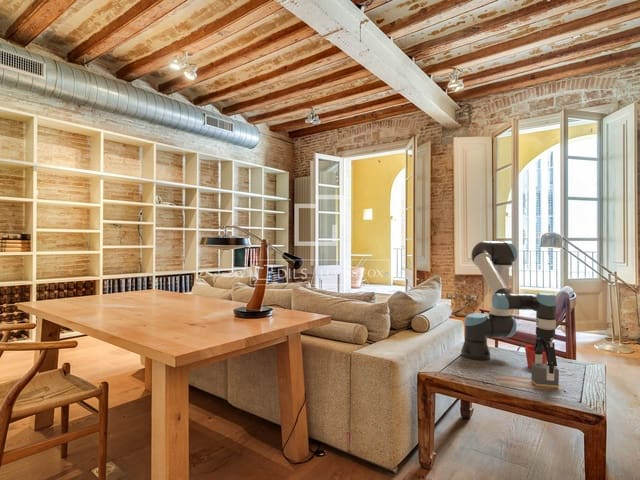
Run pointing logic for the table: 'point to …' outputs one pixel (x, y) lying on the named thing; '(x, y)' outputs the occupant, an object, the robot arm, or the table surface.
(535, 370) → the sanding block
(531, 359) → the flower pot
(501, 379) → the plank
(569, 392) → the table surface
